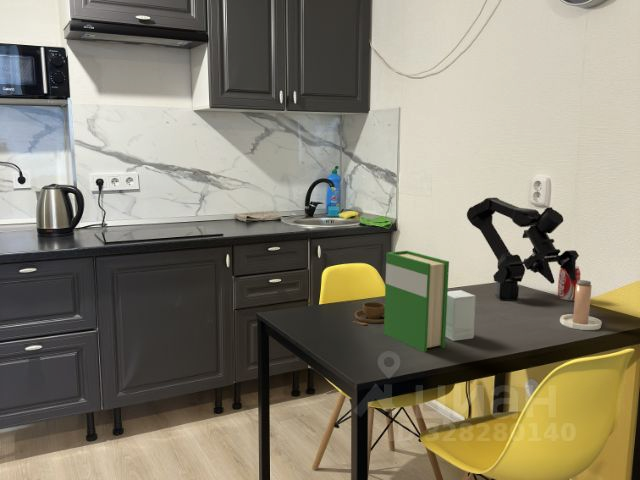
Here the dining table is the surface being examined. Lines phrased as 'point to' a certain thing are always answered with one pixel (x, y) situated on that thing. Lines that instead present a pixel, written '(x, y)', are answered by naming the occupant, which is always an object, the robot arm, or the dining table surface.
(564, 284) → the soda can
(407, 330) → the hardback book
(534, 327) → the dining table surface
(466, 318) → the supplement box
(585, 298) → the spice jar
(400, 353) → the dining table surface
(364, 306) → the place setting
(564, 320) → the tray
